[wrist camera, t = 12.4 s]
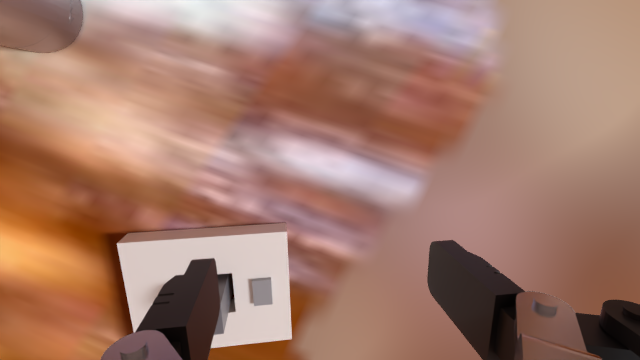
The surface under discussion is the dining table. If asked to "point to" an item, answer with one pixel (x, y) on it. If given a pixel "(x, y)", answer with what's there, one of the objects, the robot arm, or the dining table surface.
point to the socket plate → (231, 257)
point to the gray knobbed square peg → (224, 301)
